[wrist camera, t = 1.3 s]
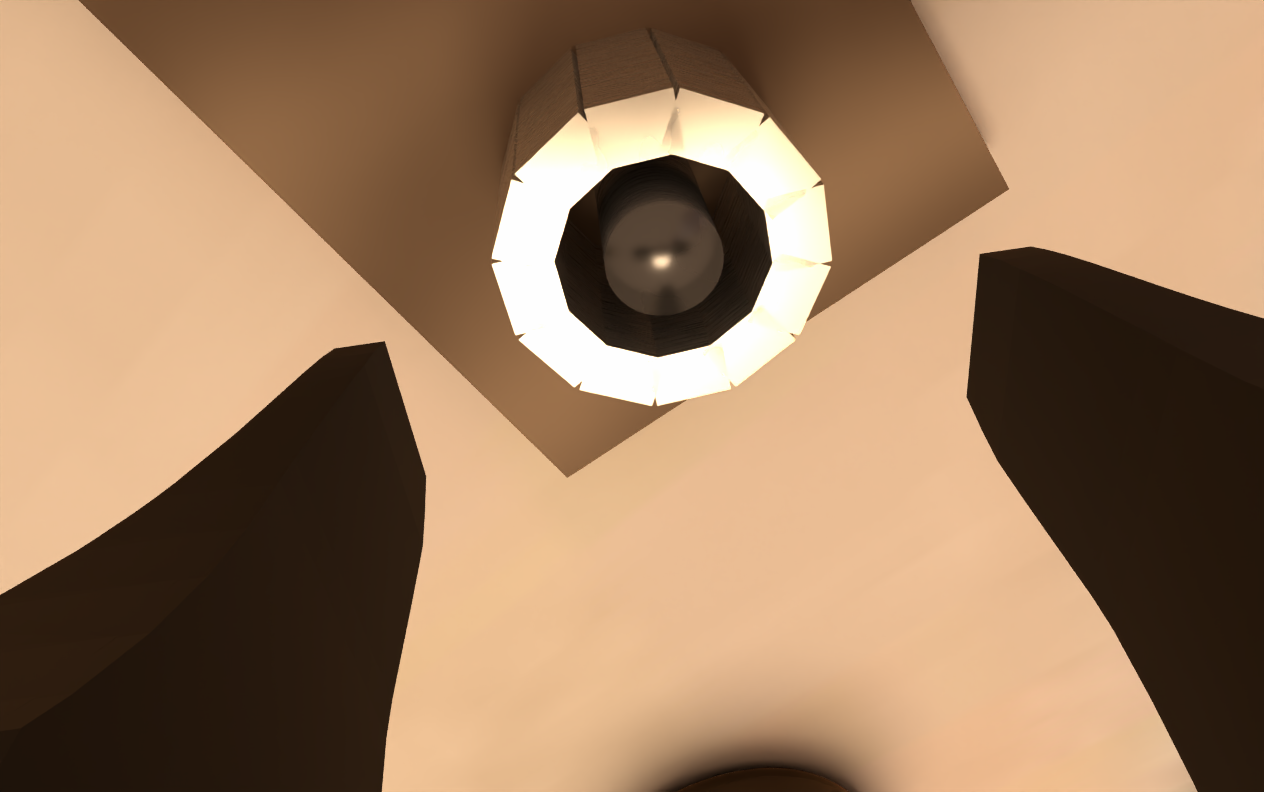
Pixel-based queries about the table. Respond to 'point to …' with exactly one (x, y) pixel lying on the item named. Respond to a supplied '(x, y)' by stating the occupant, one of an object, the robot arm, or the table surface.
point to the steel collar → (744, 217)
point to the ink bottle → (765, 782)
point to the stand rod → (657, 236)
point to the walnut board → (480, 129)
